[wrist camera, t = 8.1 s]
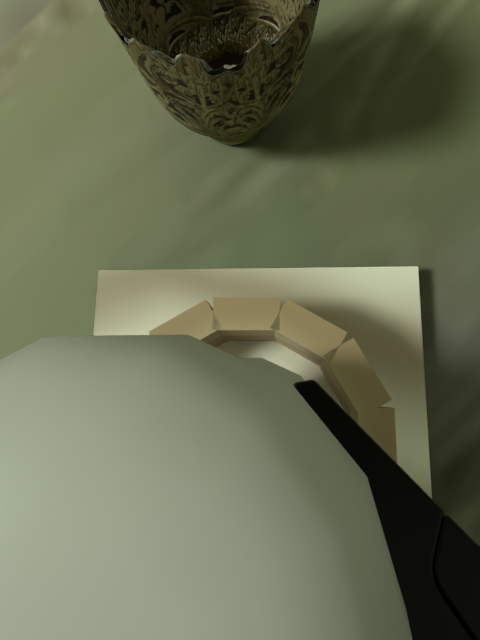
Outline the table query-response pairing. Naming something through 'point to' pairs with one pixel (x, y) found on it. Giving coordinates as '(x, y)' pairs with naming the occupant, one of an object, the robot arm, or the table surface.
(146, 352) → the salt shaker
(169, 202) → the table surface
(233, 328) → the socket
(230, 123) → the cup
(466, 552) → the robot arm
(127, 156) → the table surface
